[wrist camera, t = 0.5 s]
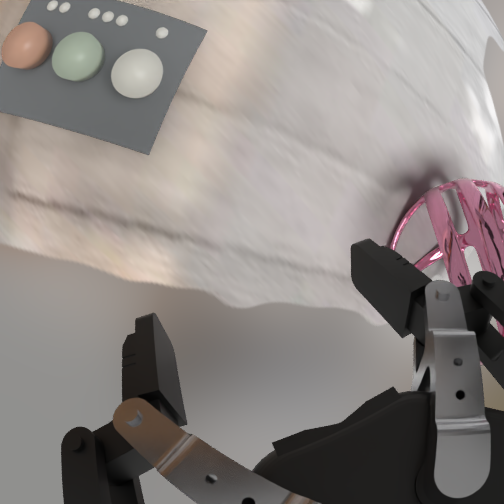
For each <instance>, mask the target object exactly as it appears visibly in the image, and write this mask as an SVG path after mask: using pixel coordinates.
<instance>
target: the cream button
mask: <svg viewBox="0 0 504 504" xmlns="http://www.w3.org/2000/svg"><path fill="white" fill-rule="evenodd" d="M162 75H163V65H162V62H161V60H160V58H159V57H158V56H157V55H156V54H155V53H153V52H152V51H150V50H147V49H134V50H130V51H128V52H126V53H124V54H123V55H122V56H120V57H119V58H118V59H117V61H116V62H115V64H114V66H113V68H112V72H111V80H112V84H113V86H114V88H115V89H116V90H117V91H118V92H119V93H120V94H122V95H123V96H126V97H129V98H143V97H146V96H148V95H150V94H152V93H153V92H154V91H155V90H156V89H157V88H158V86H159V85H160V82H161V80H162Z"/></svg>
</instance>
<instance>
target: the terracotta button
mask: <svg viewBox="0 0 504 504" xmlns="http://www.w3.org/2000/svg"><path fill="white" fill-rule="evenodd" d="M52 43H53V40H52V36H51V34H50V32H49V31H48V30H46V29H45V28H43V27H41V26H40V25H38V24H37V23H34V22H25V23H22V24H20V25H18V26H16V27H15V28H14V29H13V30H12V31H11V32H10V33H9V34H8V36H7V37H6V39H5V41H4V43H3V46H2V59H3V61H4V63H5V64H6V65H8V66H10V67H14V68H19V69H25V70H29V69H33V68H36V67H37V66H39V65H40V64H42V63H43V62H44V61H45V60H46V58H47V57H48V55H49V53H50V51H51V48H52Z"/></svg>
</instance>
